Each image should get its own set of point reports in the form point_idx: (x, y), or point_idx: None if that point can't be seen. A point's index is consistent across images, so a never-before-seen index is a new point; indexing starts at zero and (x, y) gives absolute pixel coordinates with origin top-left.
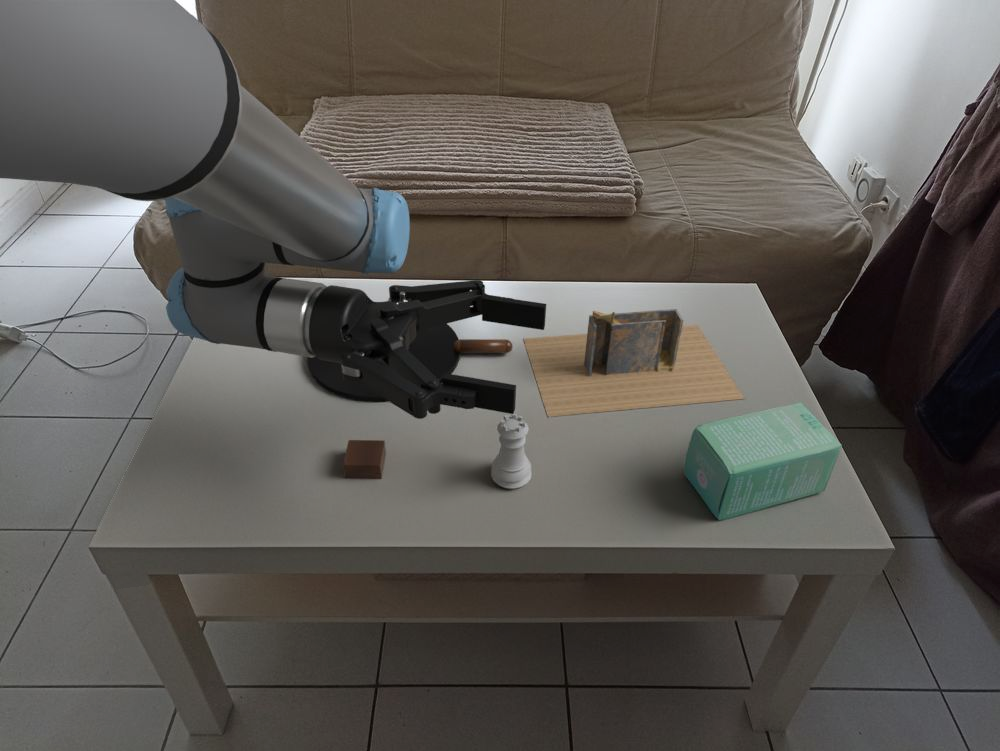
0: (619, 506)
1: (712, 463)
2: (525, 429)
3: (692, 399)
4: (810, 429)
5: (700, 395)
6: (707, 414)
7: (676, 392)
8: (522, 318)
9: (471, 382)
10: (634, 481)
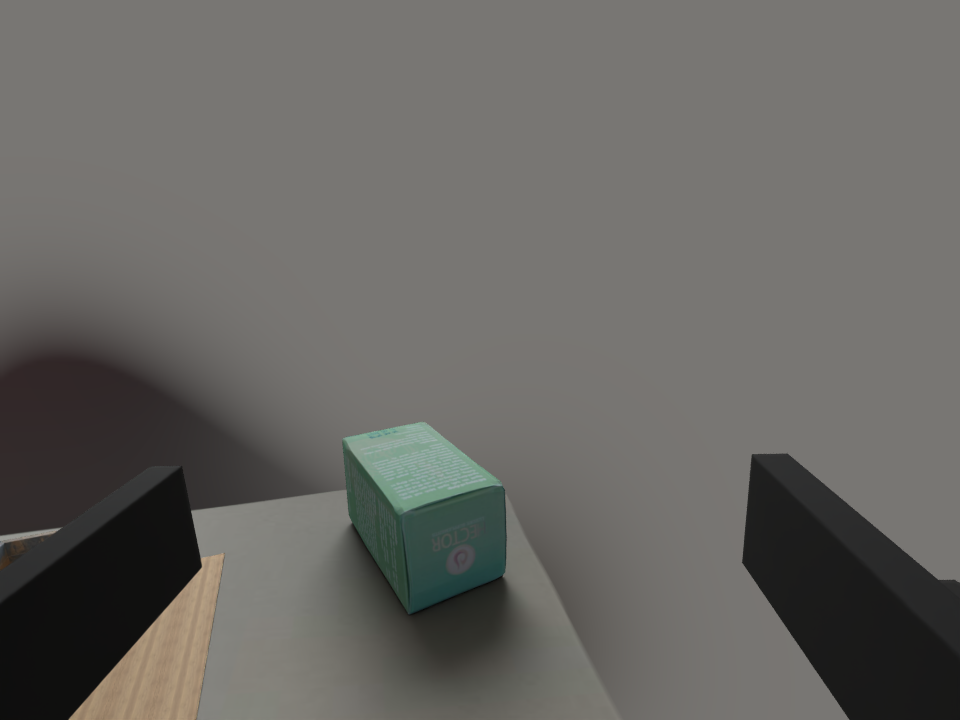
0: (513, 708)
1: (469, 512)
2: None
3: (202, 612)
4: (399, 433)
5: (194, 602)
6: (251, 593)
7: (169, 636)
8: (130, 593)
9: (914, 562)
10: (436, 688)
